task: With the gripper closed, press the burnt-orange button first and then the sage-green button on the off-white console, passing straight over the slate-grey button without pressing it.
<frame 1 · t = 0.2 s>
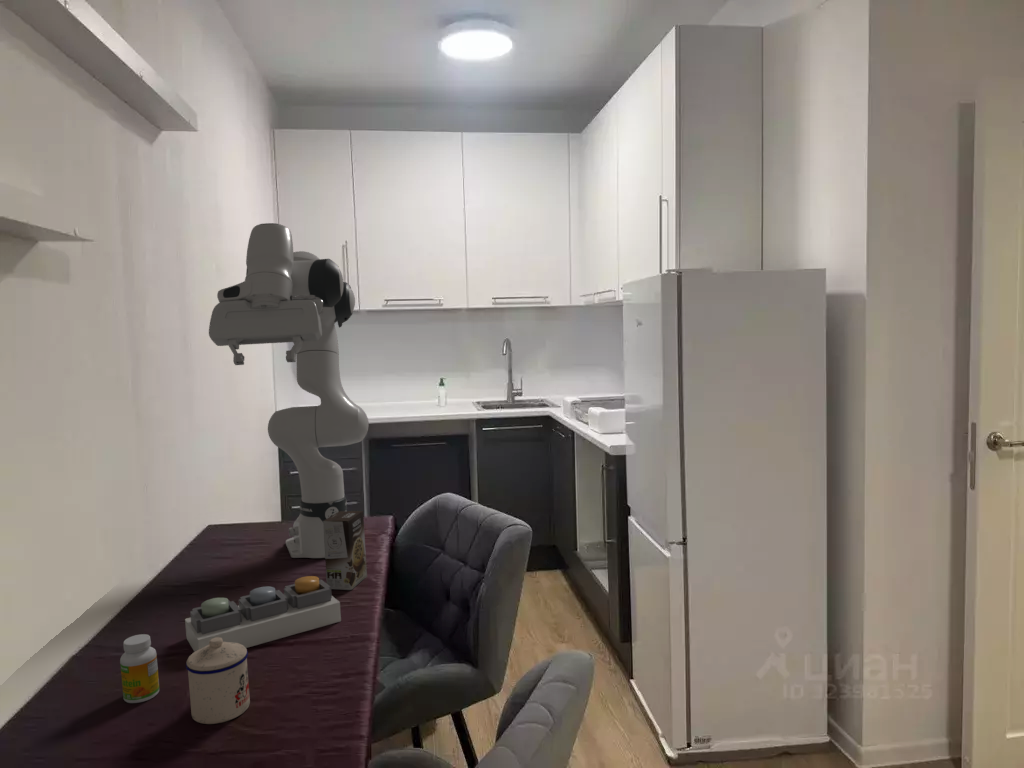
hand: (264, 362, 134), 54 cm above the table, tool tilted 30°, fingers open, 8 cm apart
teacup with lid: (222, 706, 116), on the table
sage button: (215, 607, 139), point 7 cm above the table, slide at 0.0 cm
slate button: (262, 595, 144), point 7 cm above the table, slide at 0.0 cm
supplement bottle: (141, 696, 120), on the table
button console: (265, 629, 145), on the table
coffee box: (347, 583, 169), on the table
orange button: (307, 584, 149), point 7 cm above the table, slide at 0.0 cm
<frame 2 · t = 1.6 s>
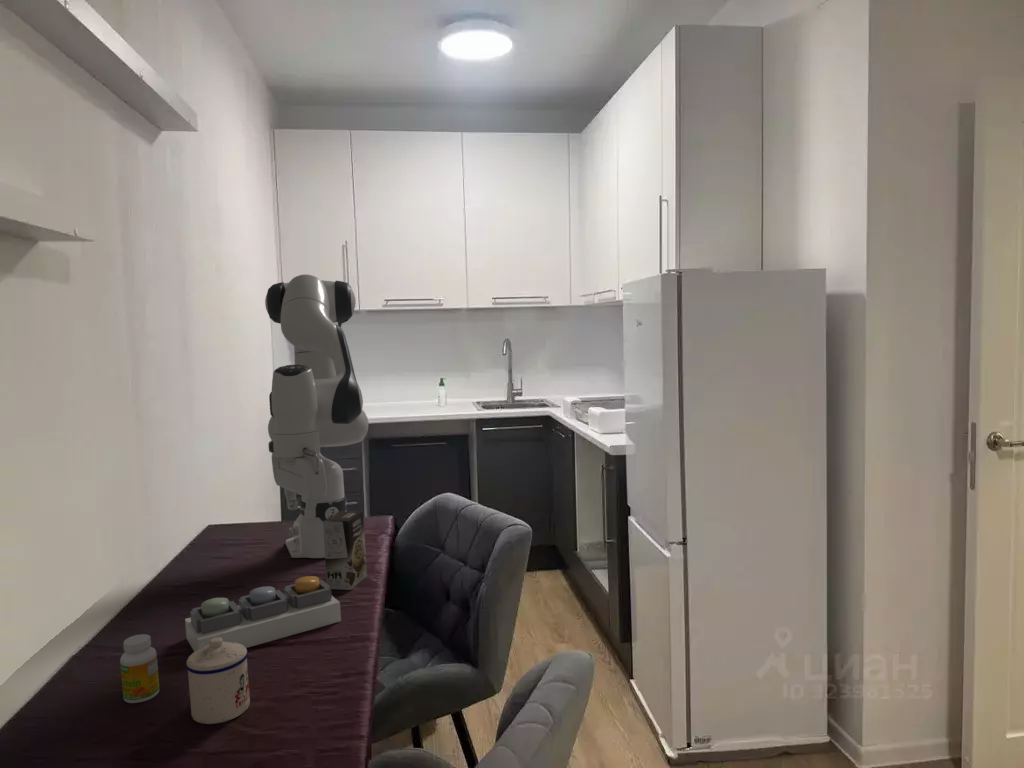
hand: (301, 513, 147), 22 cm above the table, tool pointing down, fingers open, 8 cm apart
nothing on the table moved.
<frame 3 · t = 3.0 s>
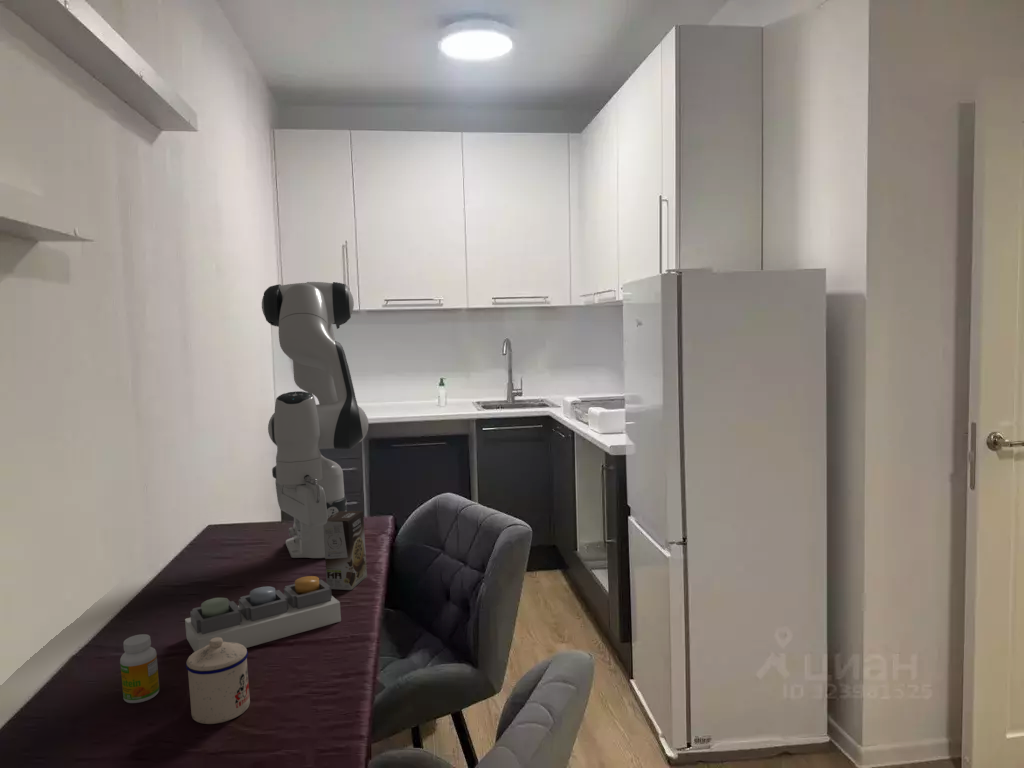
hand: (303, 539, 148), 17 cm above the table, tool pointing down, fingers closed
nothing on the table moved.
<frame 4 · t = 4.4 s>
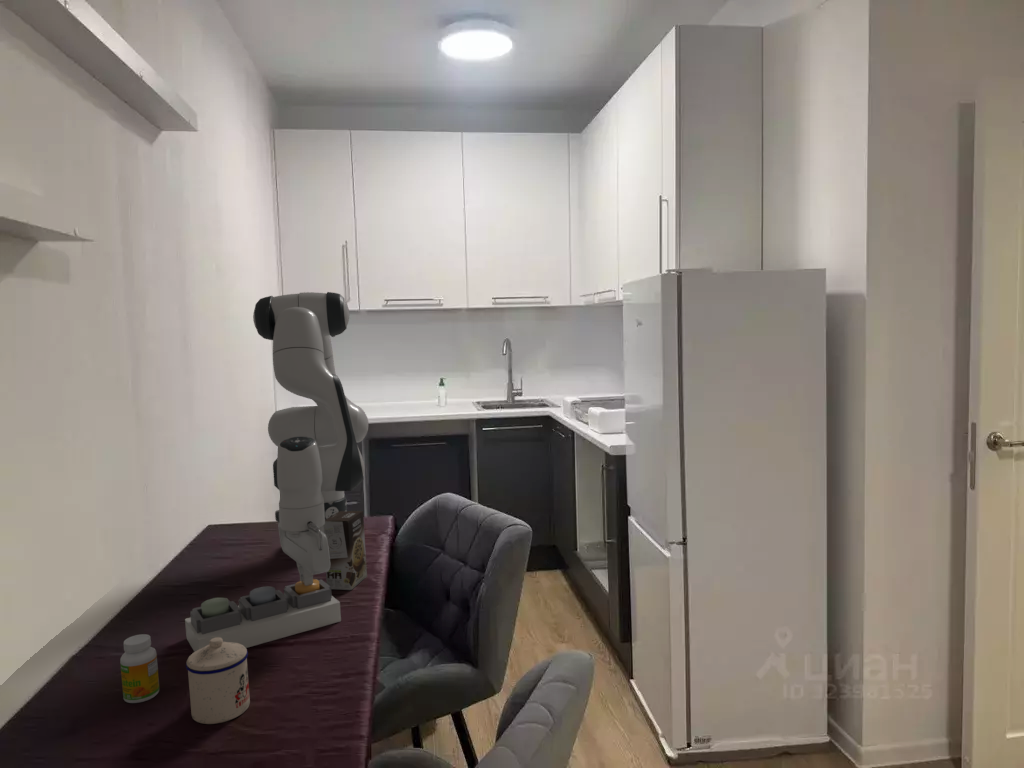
hand: (306, 583, 149), 7 cm above the table, tool pointing down, fingers closed, pressing on orange button
orange button: (307, 588, 149), point 6 cm above the table, slide at 0.7 cm, touching gripper
everything else where it was.
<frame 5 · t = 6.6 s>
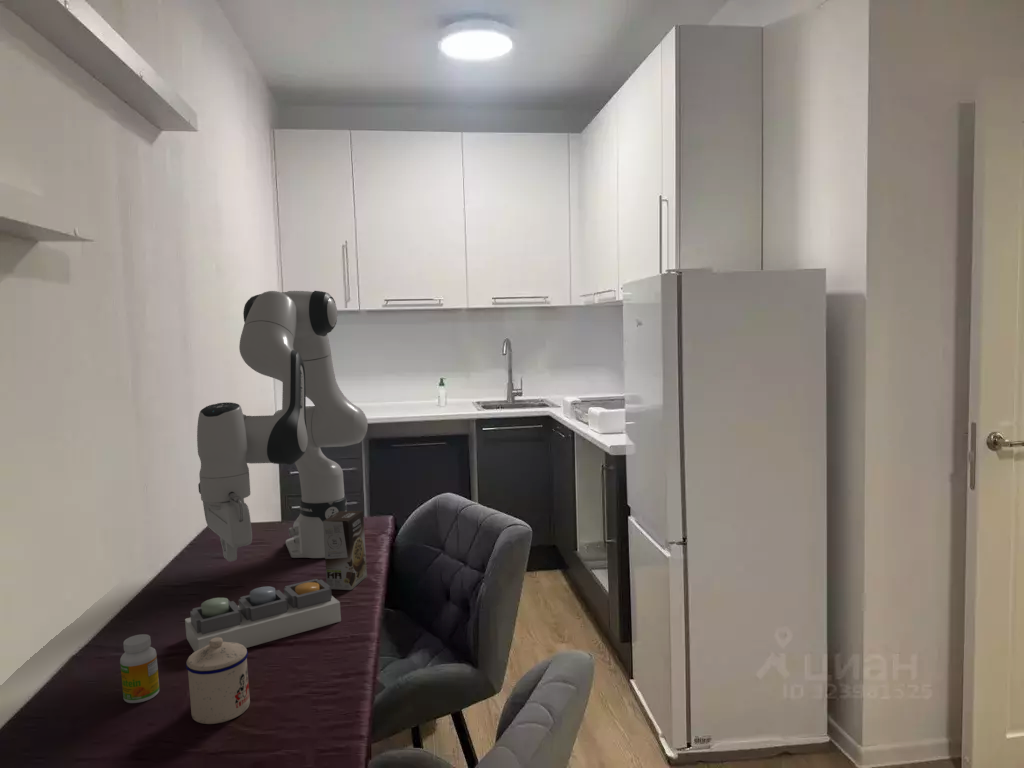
hand: (230, 559, 139), 16 cm above the table, tool pointing down, fingers closed
orange button: (307, 591, 149), point 6 cm above the table, slide at 1.3 cm
everything else where it was.
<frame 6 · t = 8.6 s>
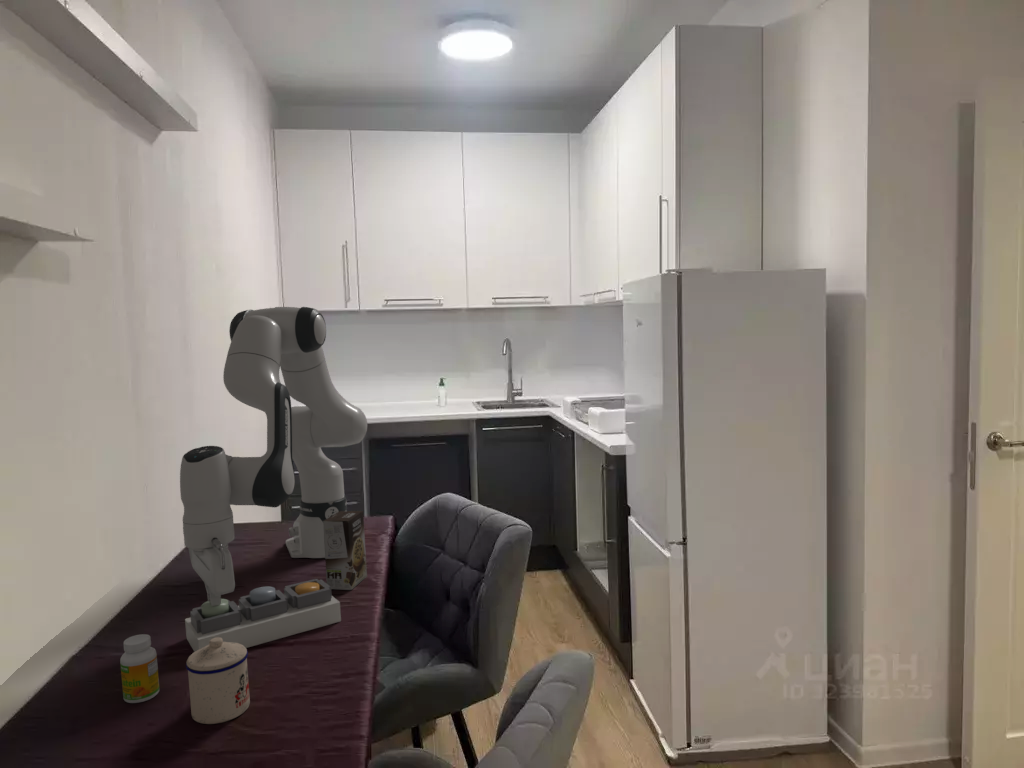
hand: (214, 603, 139), 8 cm above the table, tool pointing down, fingers closed, pressing on sage button
sage button: (215, 608, 139), point 7 cm above the table, slide at 0.2 cm, touching gripper
everything else where it was.
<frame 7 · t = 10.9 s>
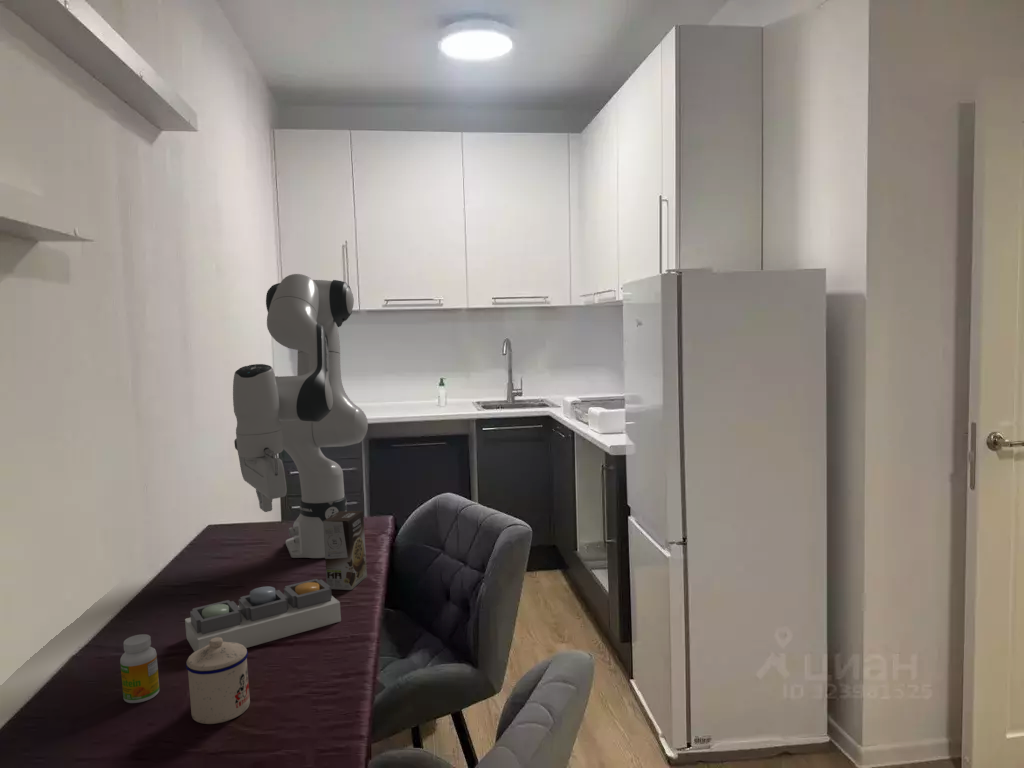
hand: (266, 510, 150), 22 cm above the table, tool pointing down, fingers closed
sage button: (215, 614, 139), point 6 cm above the table, slide at 1.3 cm
everything else where it was.
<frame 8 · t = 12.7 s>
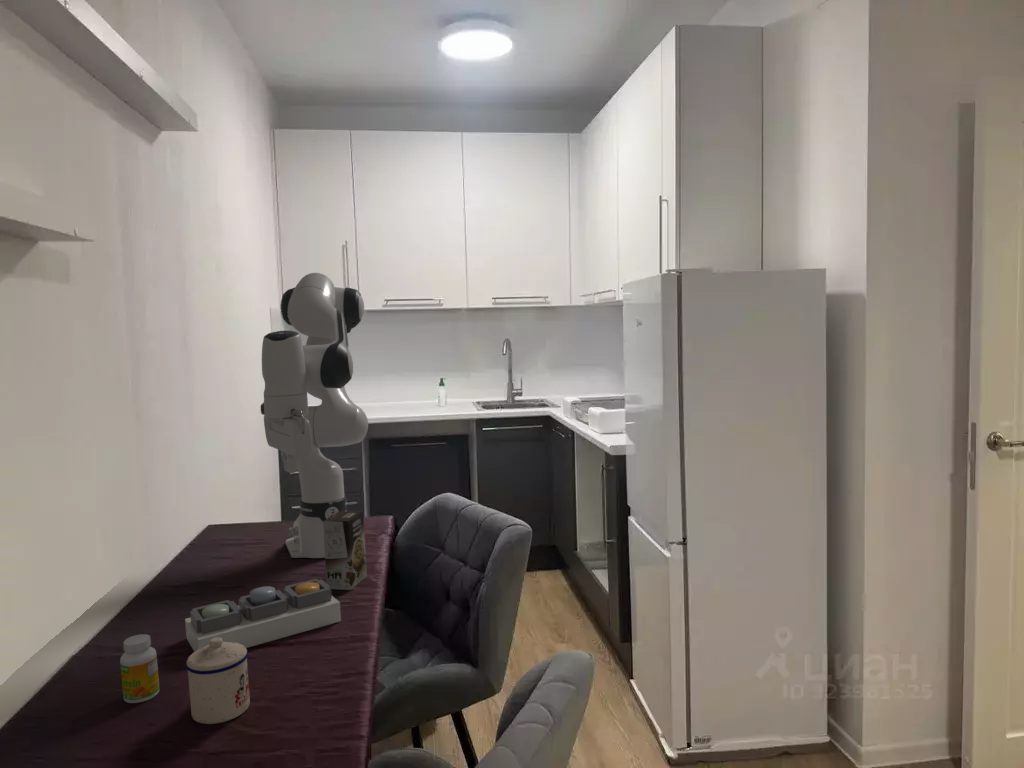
hand: (290, 471, 155), 29 cm above the table, tool pointing down, fingers closed
nothing on the table moved.
at the end: orange button slide at 1.3 cm; sage button slide at 1.3 cm; slate button slide at 0.0 cm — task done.
